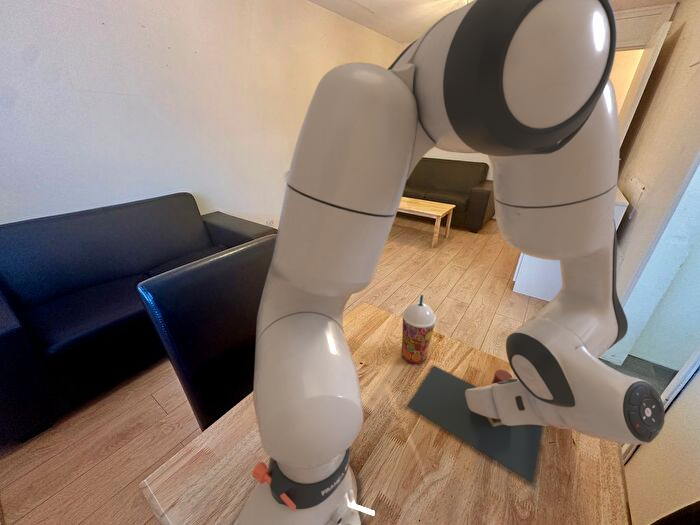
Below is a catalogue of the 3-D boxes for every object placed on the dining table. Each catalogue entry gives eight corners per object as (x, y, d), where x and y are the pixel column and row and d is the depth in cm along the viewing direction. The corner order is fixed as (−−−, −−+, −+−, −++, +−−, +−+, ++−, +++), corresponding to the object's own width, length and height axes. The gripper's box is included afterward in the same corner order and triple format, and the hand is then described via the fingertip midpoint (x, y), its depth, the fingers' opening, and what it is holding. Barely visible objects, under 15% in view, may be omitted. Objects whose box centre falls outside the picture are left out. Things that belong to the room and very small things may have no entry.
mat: (531, 485, 51) (532, 483, 51) (406, 407, 65) (407, 406, 65) (542, 422, 62) (543, 420, 61) (433, 367, 75) (433, 365, 75)
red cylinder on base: (511, 422, 61) (525, 387, 56) (493, 427, 60) (505, 391, 55) (490, 395, 67) (501, 361, 62) (473, 398, 66) (483, 364, 61)
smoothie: (392, 355, 79) (397, 295, 70) (410, 341, 84) (417, 283, 75) (417, 372, 74) (426, 310, 65) (435, 356, 79) (446, 296, 70)
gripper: (586, 366, 52) (530, 365, 65) (487, 386, 48) (448, 380, 61) (600, 404, 50) (539, 395, 63) (498, 428, 46) (456, 413, 59)
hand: (494, 388), depth 62 cm, fingers open, 8 cm apart
